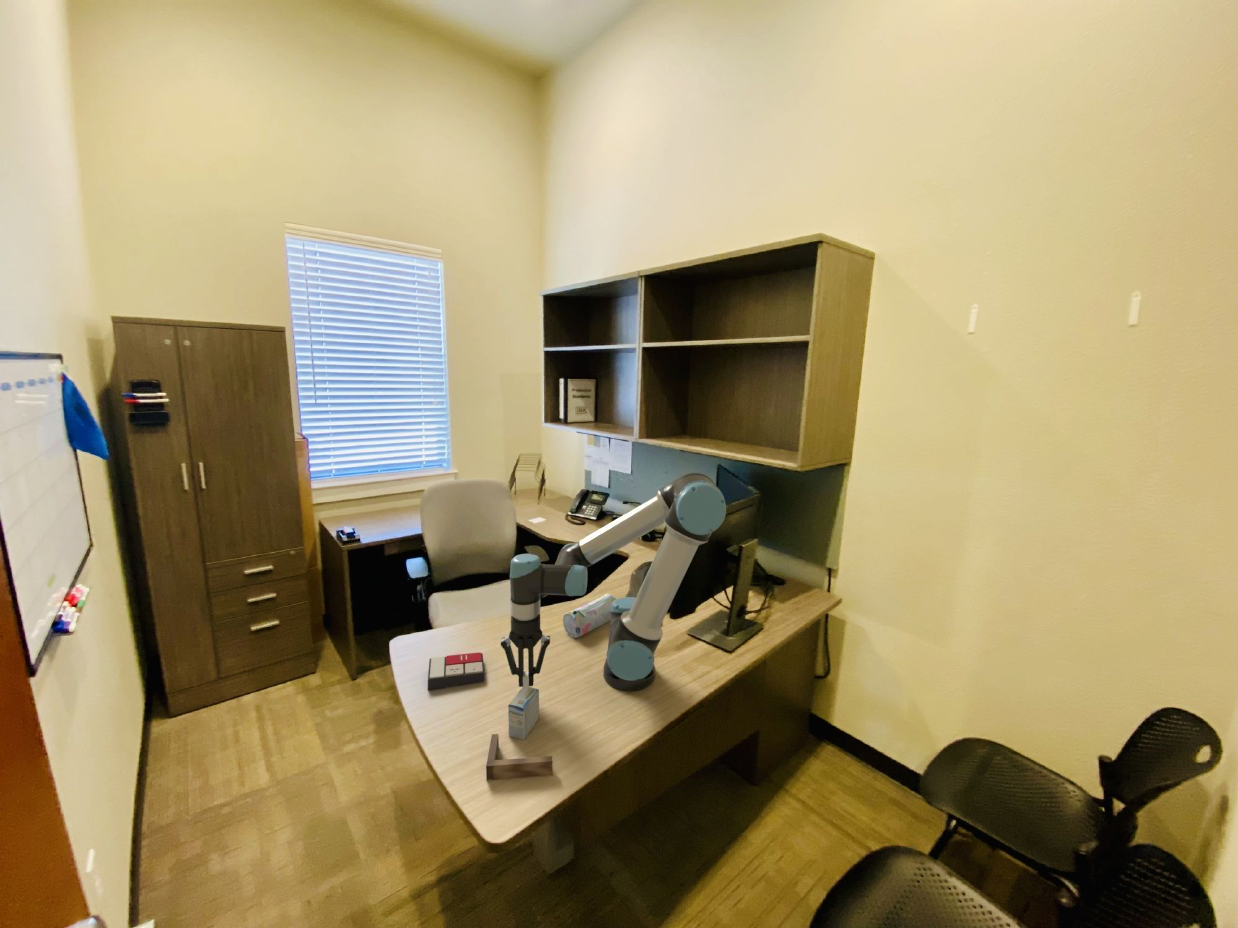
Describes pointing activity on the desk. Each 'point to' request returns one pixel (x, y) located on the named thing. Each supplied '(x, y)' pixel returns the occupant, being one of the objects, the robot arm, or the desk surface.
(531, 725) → the medicine box
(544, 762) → the corner fence
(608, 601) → the pencil case
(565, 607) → the desk surface
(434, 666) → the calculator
